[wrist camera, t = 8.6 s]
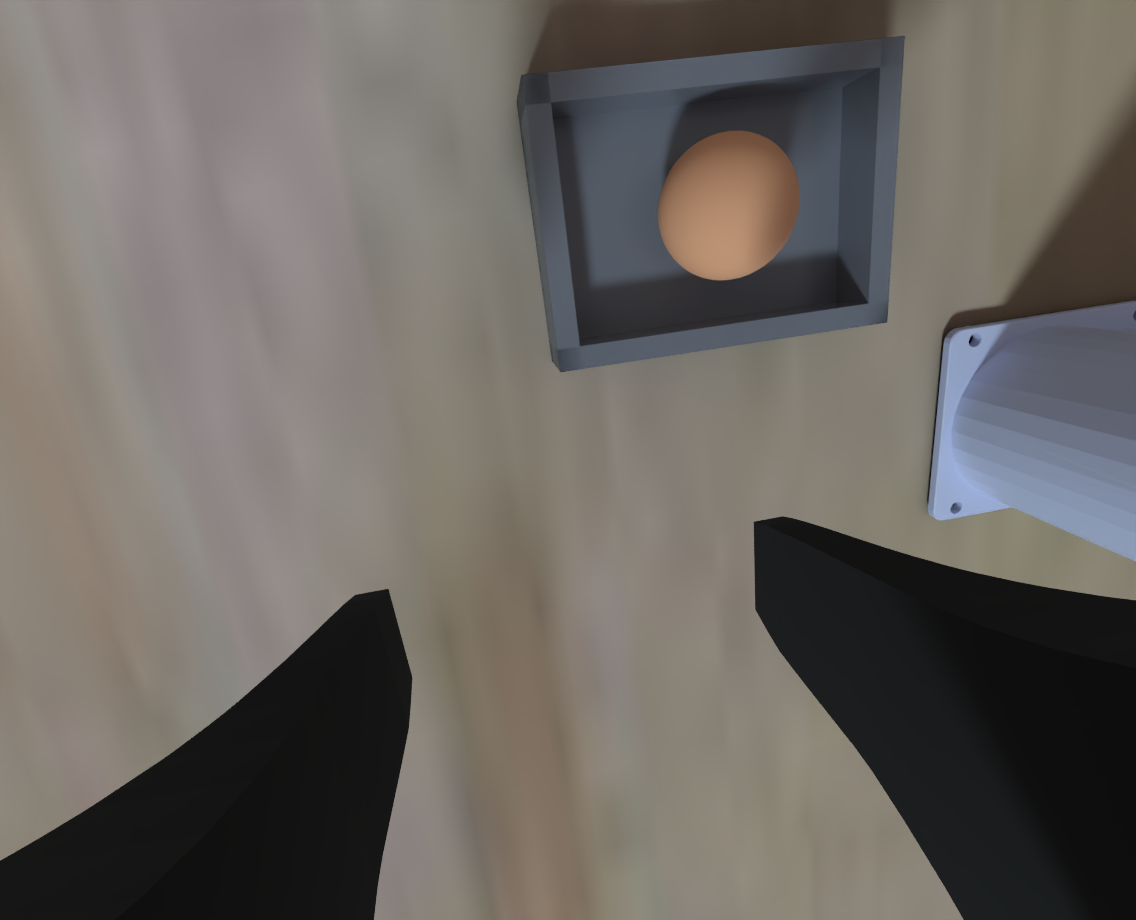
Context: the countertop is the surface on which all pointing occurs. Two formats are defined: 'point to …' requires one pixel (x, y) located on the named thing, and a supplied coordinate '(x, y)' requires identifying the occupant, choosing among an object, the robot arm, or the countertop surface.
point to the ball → (728, 205)
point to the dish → (642, 163)
